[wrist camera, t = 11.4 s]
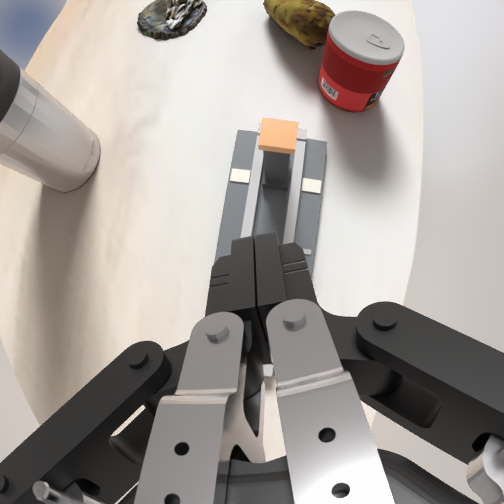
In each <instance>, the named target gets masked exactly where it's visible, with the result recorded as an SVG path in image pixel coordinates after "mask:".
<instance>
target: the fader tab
mask: <svg viewBox="0 0 504 504" xmlns="http://www.w3.org/2000/svg"><path fill="white" fill-rule="evenodd" d="M298 123H299V122H293V121H286V120H278V119H270V118H262V124H261V130H260V136H259V142H258V149H259V150H263V156H264V174H263V181H262V187H264V188H271V189H279V190H285V191H287V188H288V180H289V173H290V165H291V160H290V154H295V148H296V140H297V131H298Z"/></svg>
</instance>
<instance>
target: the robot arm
mask: <svg viewBox="0 0 504 504" xmlns="http://www.w3.org/2000/svg"><path fill="white" fill-rule="evenodd" d="M99 155H100V144H99V139H98V137H97V135H96V134H95V133H94V132H93V131H92V130H91V129H90V128H88V127H87V126H86V125H85V124H84V123H83V122H82V121H80V120H79V119H78V118H77V117H76V116H75V115H74V114H73V113H71V112H70V111H69V110H68V109H67V108H66V107H65V106H64V105H62V104H61V103H60V102H59V101H58V100H57V99H56V98H54V97H53V96H52V95H51V94H50V93H49V92H48V91H46V90H45V89H44V88H43V87H42V86H41V85H40V84H39V83H37V82H36V81H35V80H34V79H33V78H32V77H31V76H29V75H28V74H27V73H26V72H25V71H24V70H23V69H22V68H20V67H19V66H18V65H17V64H16V63H15V62H13V60H11V59H10V58H9V57H8V56H7V55H6V54H4V53H3V52H2V51H1V50H0V164H2V165H4V166H6V167H8V168H10V169H13V170H15V171H17V172H19V173H21V174H23V175H25V176H28V177H30V178H32V179H34V180H36V181H38V182H40V183H42V184H44V185H47V186H49V187H51V188H53V189H56V190H58V191H61V192H68V191H72V190H74V189H77V188H78V187H80V186H81V185H82V184H83V183H84V182H86V181H87V180H88V178H89V177H90V176H91V174H92V173H93V171H94V169H95V167H96V165H97V162H98V160H99ZM209 286H210V288H209V292H208V299H207V306H206V313H205V317H204V318H203V319H201V320H200V321H199V322H198V323H197V324H196V325H195V326H194V328H193V330H192V332H191V336H190V340H188V341H187V342H185V343H182V344H180V345H178V346H175V347H172V348H170V349H167V350H165V351H163V349H162V348H161V346H160V345H159V344H157V343H155V342H153V341H141V342H138V343H135V344H133V345H131V346H130V347H128V348H127V349H126V350H124V351H123V352H122V353H121V354H120V355H119V356H118V357H117V358H115V359H114V360H113V361H112V362H111V363H110V364H109V365H108V366H107V367H105V368H104V369H103V370H102V371H101V372H100V373H99V374H98V375H96V376H95V377H94V378H93V379H92V380H91V381H90V382H89V383H88V384H86V385H85V386H84V387H83V388H82V389H81V390H80V391H79V392H78V393H76V394H75V395H74V396H73V397H72V398H71V399H70V400H69V401H68V402H67V403H65V404H64V405H63V406H62V407H61V408H60V409H59V410H58V411H57V412H55V413H54V414H53V415H52V416H51V417H50V418H49V419H48V420H47V421H46V422H44V423H43V424H42V425H41V426H40V427H39V428H38V429H37V430H36V431H35V432H33V434H31V435H30V436H29V437H28V438H27V439H26V440H25V441H24V442H23V443H21V444H20V445H19V446H18V447H17V448H16V449H15V450H14V451H13V452H12V453H11V454H10V455H8V456H7V457H6V458H5V459H4V460H3V461H2V462H1V463H0V504H114V503H115V502H117V501H118V500H119V499H120V498H121V497H122V496H123V495H124V494H125V493H126V492H127V491H128V490H129V489H131V488H132V487H133V486H134V485H135V484H136V483H137V482H138V481H139V483H138V484H137V485H136V486H135V487H134V488H133V489H132V490H131V491H130V492H129V493H128V494H127V495H126V496H125V497H124V498H123V499H122V500H121V501H120V502H119V503H118V504H478V503H477V502H475V501H474V500H472V499H470V498H468V497H467V496H465V495H463V494H462V493H460V492H458V491H457V490H455V489H454V488H452V487H451V486H449V485H447V484H446V483H444V482H443V481H441V480H440V479H438V478H436V477H435V476H433V475H432V474H430V473H429V472H427V471H426V470H424V469H422V468H421V467H420V466H418V465H417V464H415V463H414V462H412V461H410V460H409V459H407V458H405V457H403V456H401V455H399V454H396V453H393V452H390V451H386V450H382V449H377V448H376V445H375V442H374V439H373V436H372V433H371V430H370V427H369V424H368V421H367V418H366V415H365V413H364V410H363V407H362V404H361V401H363V402H364V403H366V404H367V405H369V406H370V407H372V408H373V409H375V410H376V411H378V412H380V413H381V414H383V415H384V416H386V417H388V418H389V419H391V420H392V421H394V422H396V423H397V424H399V425H400V426H402V427H404V428H405V429H407V430H409V431H410V432H412V433H414V434H415V435H417V436H419V437H420V438H422V439H424V440H426V441H427V442H429V443H431V444H432V445H434V446H436V447H437V448H439V449H441V450H442V451H444V452H446V453H448V454H450V455H451V456H453V457H455V458H457V459H458V460H460V461H462V462H464V463H466V464H467V465H468V467H467V482H468V485H469V486H470V488H471V489H472V491H474V492H475V493H476V494H477V495H479V497H480V498H481V499H482V501H483V503H484V504H504V353H502V352H500V351H498V350H496V349H494V348H492V347H490V346H488V345H486V344H484V343H481V342H479V341H477V340H475V339H473V338H471V337H469V336H467V335H464V334H462V333H460V332H458V331H456V330H454V329H451V328H449V327H447V326H445V325H443V324H441V323H439V322H437V321H434V320H432V319H430V318H428V317H426V316H424V315H422V314H419V313H417V312H415V311H413V310H411V309H408V308H406V307H404V306H402V305H400V304H397V303H394V302H377V303H373V304H371V305H368V306H367V307H365V308H364V309H363V310H362V311H361V312H360V313H359V315H358V316H357V317H343V316H336V315H333V314H330V313H328V312H326V311H325V310H323V309H322V308H321V307H320V306H319V304H318V302H317V299H316V296H315V292H314V288H313V284H312V280H311V277H310V273H309V269H308V265H307V262H306V258H305V254H304V251H303V249H302V248H301V247H300V246H299V245H297V244H296V243H295V242H292V243H287V244H282V245H279V242H278V237H277V232H276V231H272V232H267V233H262V234H257V235H255V238H254V236H253V235H252V236H248V237H243V238H238V239H233V240H232V243H231V255H227V256H222V257H219V258H218V260H217V261H216V262H215V264H214V265H213V267H212V271H211V279H210V285H209ZM271 354H272V357H271ZM272 360H273V366H274V372H275V377H276V383H277V388H276V395H277V402H278V408H279V414H280V420H281V426H282V432H283V437H284V443H285V449H286V456H283V457H280V458H277V459H275V460H272V461H269V462H265V453H264V448H263V425H264V404H265V384H264V381H263V380H264V371H263V365H265V364H272ZM360 400H361V401H360ZM142 405H144V406H145V409H144V410H143V411H142V412H141V413H140V414H139V415H138V416H137V417H136V418H135V419H134V420H133V421H132V422H131V423H130V424H129V425H128V426H127V427H125V428H124V429H123V430H122V431H121V432H120V433H119V434H118V435H116V436H111V435H112V433H113V432H114V431H115V430H116V429H117V428H118V427H120V426H121V425H122V424H123V423H124V422H125V421H126V420H127V419H128V418H129V417H130V416H131V415H132V414H133V413H134V412H135V411H136V410H137V409H138V408H139V407H141V406H142Z"/></svg>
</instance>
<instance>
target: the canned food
mask: <svg viewBox="0 0 504 504" xmlns="http://www.w3.org/2000/svg"><path fill="white" fill-rule="evenodd" d="M403 52H404V41H403V39H402V37H401V35H400V34H399V32H398V31H397V30H396V29H395V28H394V27H393V26H392V25H391V24H389V23H388V22H387V21H385V20H383V19H382V18H380V17H378V16H375V15H373V14H370V13H367V12H362V11H344V12H341V13H339V14H337V15H335V16H334V17H333V18H332V20H331V22H330V25H329V29H328V33H327V38H326V43H325V48H324V53H323V58H322V63H321V68H320V73H319V78H318V81H319V86H320V89H321V92H322V94H323V96H324V97H325V98H326V99H327V100H328V101H329V102H330V103H331V104H332V105H334V106H336V107H337V108H340V109H342V110H345V111H349V112H361V111H365V110H367V109H369V108H371V107H372V106H374V105H375V104H376V102H377V101H378V99H379V97H380V96H381V94H382V92H383V90H384V88H385V87H386V85H387V83H388V81H389V80H390V78H391V76H392V74H393V72H394V71H395V69H396V67H397V65H398V63H399V61H400V59H401V57H402V55H403Z"/></svg>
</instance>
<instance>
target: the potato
mask: <svg viewBox="0 0 504 504" xmlns="http://www.w3.org/2000/svg"><path fill="white" fill-rule="evenodd" d="M263 5H264V7H265V9H266V12H267V14H269V16H270V17H271V18H272V19H273V20H274V21H275V22H276V23H277V24H278V25H279V26H280V27H281V28H282V29H283V30H285V31H286V32H288V33H289V34H290V35H292V36H293V37H294V38H296V39H297V40H298V41H300V42H301V43H303V44H305V45H304V46H306V48H308V49H310V50H312V49H316V47H320V46H323V45H325V43H326V38H327V33H328V29H329V25H330V22H331V20H332V18H333V17H334V16H335V14H334V12H333V11H332V10H331V9H330V8H329V7H328V6H326V5H325V4H323V3H320V2H318V1H315V0H264V3H263Z"/></svg>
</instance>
